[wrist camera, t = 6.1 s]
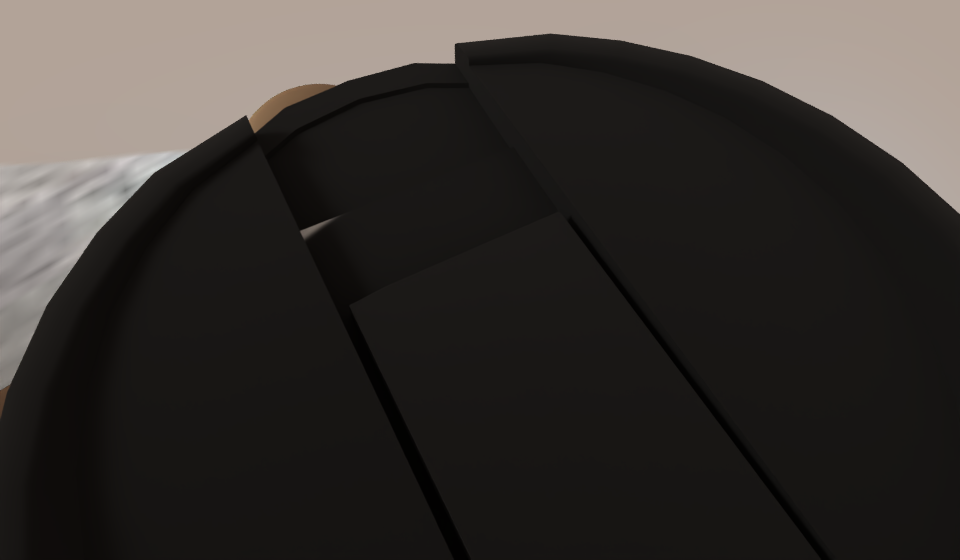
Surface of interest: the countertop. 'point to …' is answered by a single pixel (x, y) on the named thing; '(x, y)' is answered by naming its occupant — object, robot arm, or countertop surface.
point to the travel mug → (504, 332)
